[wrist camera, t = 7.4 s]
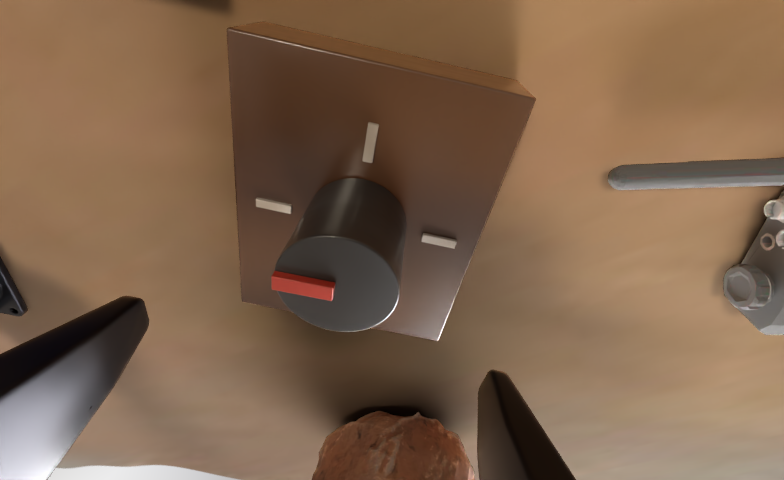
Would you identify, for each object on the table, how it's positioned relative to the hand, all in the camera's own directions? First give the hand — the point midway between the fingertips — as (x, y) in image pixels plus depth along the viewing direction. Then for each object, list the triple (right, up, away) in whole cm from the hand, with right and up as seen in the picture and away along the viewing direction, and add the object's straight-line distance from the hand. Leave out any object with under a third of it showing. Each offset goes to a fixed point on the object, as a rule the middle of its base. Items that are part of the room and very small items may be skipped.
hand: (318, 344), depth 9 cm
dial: (0, +3, +5) cm, 6 cm away
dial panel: (+1, +5, +8) cm, 9 cm away
